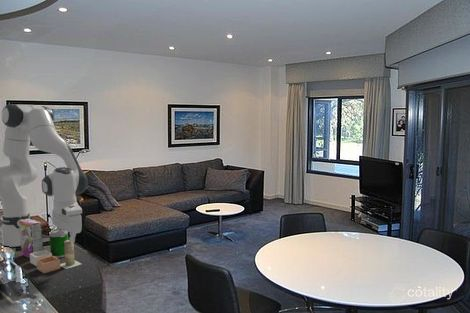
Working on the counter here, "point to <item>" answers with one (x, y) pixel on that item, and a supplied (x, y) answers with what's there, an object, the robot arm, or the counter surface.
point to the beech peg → (69, 253)
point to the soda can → (57, 243)
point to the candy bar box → (30, 237)
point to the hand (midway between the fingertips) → (66, 239)
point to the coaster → (70, 266)
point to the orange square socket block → (48, 264)
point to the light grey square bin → (39, 256)
